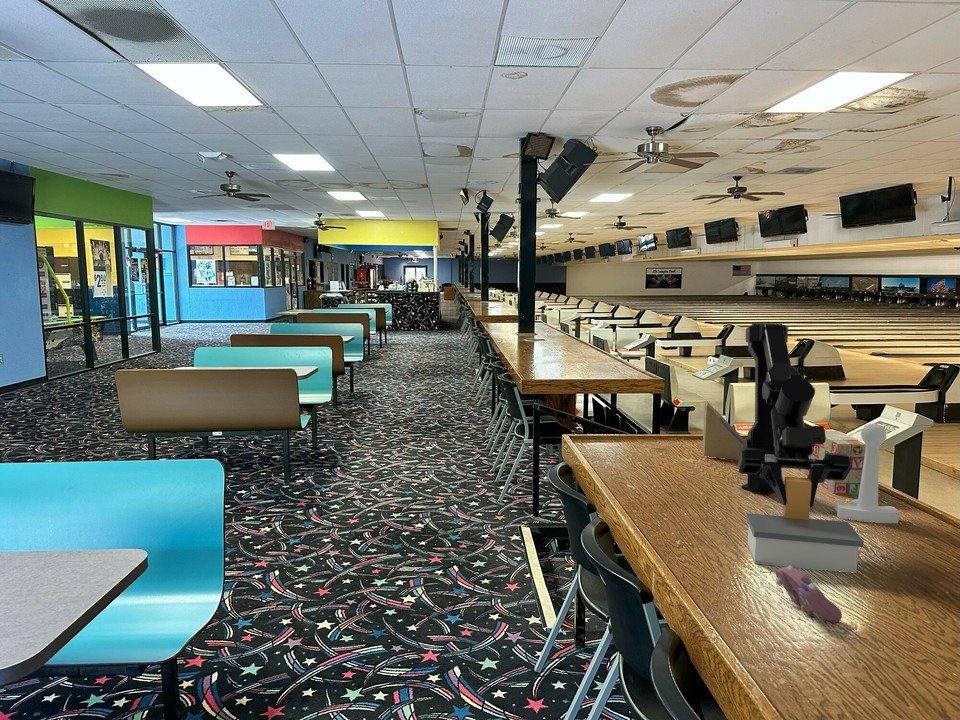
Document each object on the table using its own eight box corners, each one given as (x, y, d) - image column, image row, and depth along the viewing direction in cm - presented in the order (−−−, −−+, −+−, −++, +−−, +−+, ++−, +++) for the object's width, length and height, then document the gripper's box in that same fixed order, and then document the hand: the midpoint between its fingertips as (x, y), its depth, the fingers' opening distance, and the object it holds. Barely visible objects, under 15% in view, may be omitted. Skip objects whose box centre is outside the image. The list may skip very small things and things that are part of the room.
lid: (744, 519, 123) (747, 473, 122) (843, 527, 119) (847, 481, 118) (753, 541, 113) (756, 492, 111) (862, 551, 108) (867, 500, 107)
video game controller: (781, 601, 103) (765, 565, 102) (807, 588, 104) (790, 551, 102) (819, 635, 94) (801, 595, 93) (847, 621, 94) (829, 580, 93)
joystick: (839, 519, 134) (847, 424, 132) (830, 507, 142) (837, 416, 139) (900, 524, 131) (909, 428, 129) (887, 511, 139) (895, 419, 136)
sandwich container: (764, 463, 175) (767, 408, 173) (704, 458, 179) (706, 404, 177) (759, 454, 183) (762, 402, 182) (702, 450, 188) (704, 399, 186)
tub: (747, 545, 121) (748, 519, 121) (842, 554, 117) (844, 527, 117) (754, 563, 113) (756, 536, 113) (856, 574, 110) (858, 545, 109)
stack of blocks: (794, 467, 171) (797, 421, 169) (819, 468, 170) (822, 422, 169) (834, 495, 150) (838, 442, 148) (862, 495, 149) (866, 443, 148)
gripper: (743, 406, 123) (749, 480, 114) (853, 411, 119) (868, 489, 109) (735, 436, 132) (740, 508, 122) (837, 442, 127) (850, 517, 118)
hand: (798, 505), depth 118 cm, fingers closed on lid, 4 cm apart
